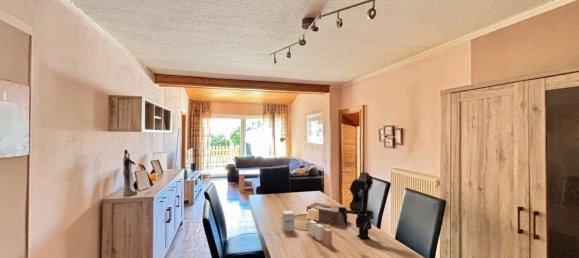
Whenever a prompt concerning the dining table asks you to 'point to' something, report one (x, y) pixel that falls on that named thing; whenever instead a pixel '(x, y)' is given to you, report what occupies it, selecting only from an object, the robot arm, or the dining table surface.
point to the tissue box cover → (328, 213)
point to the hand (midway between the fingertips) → (354, 228)
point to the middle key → (319, 232)
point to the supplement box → (288, 220)
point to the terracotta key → (327, 236)
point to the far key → (311, 227)
